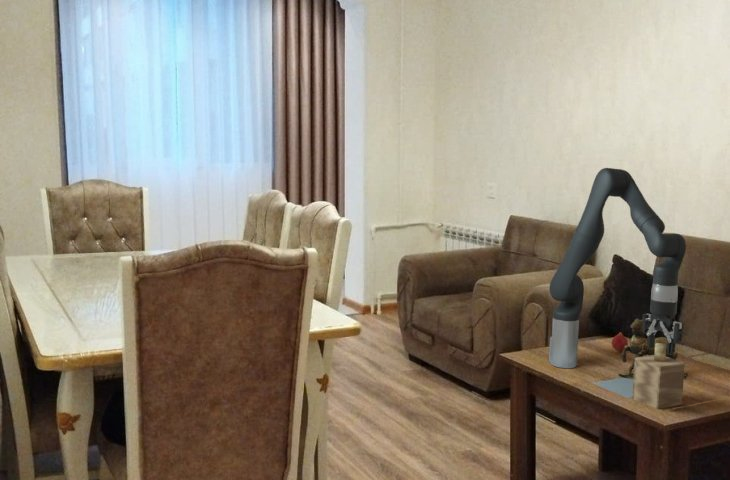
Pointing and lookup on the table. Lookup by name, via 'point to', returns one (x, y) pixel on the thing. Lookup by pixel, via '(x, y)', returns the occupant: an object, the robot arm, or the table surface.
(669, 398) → the cover
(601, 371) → the table surface
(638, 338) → the figurine
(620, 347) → the onion
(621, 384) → the mat
